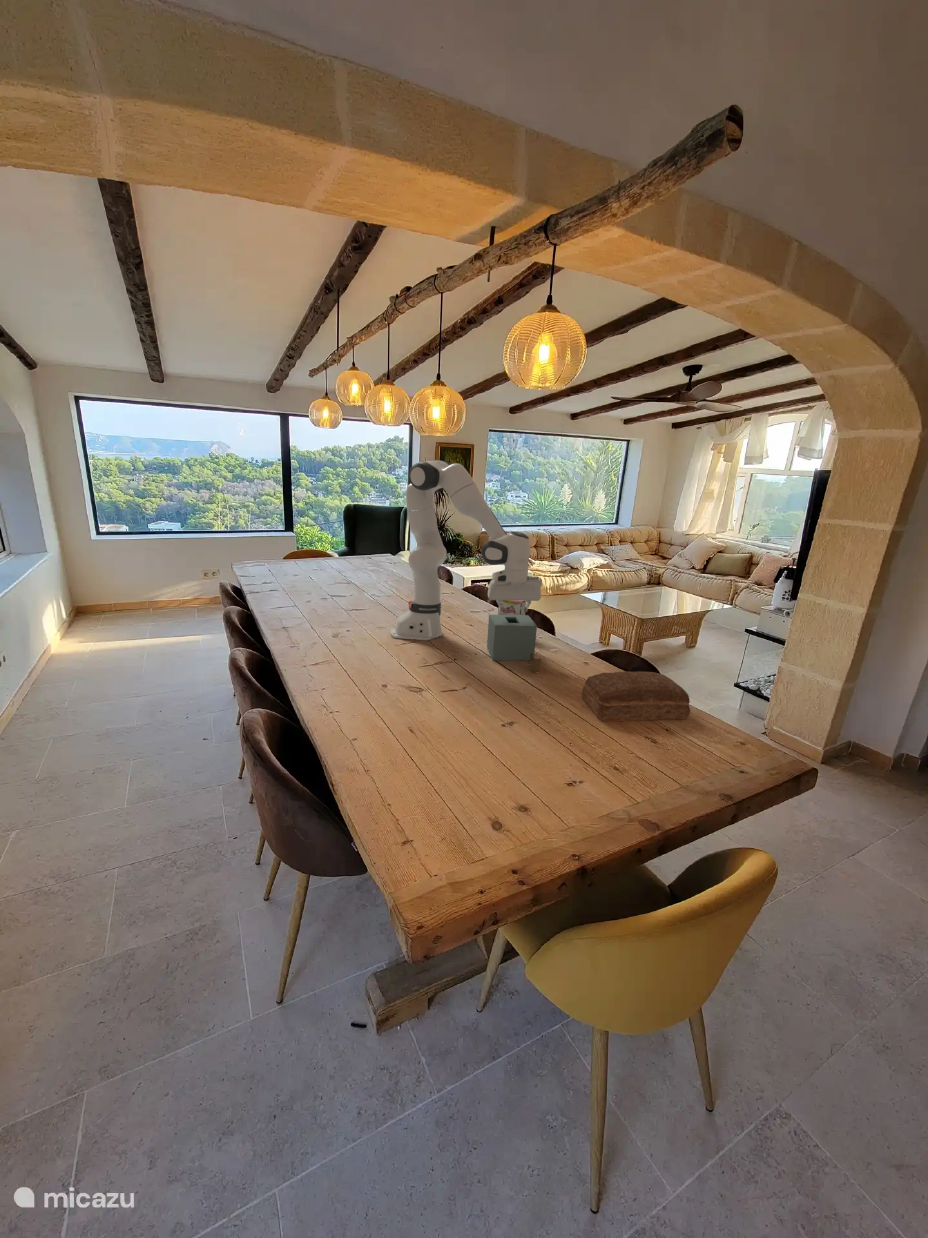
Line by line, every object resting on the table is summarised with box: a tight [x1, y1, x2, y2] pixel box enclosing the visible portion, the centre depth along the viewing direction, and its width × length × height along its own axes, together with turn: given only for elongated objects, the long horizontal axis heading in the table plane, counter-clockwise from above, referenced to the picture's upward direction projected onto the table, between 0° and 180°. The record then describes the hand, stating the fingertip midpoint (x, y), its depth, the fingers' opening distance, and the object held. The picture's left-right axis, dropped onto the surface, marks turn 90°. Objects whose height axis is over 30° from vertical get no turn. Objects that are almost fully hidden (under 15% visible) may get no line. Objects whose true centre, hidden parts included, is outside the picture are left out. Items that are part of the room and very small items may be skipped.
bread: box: [581, 671, 691, 722], centre depth 151 cm, size 17×29×11 cm, turn 97°
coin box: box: [486, 614, 538, 661], centre depth 192 cm, size 16×14×14 cm
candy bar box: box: [497, 600, 527, 615], centre depth 215 cm, size 11×5×16 cm, turn 58°
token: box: [529, 652, 542, 673], centre depth 178 cm, size 2×6×6 cm, turn 7°
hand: (512, 611), depth 189 cm, fingers open, 8 cm apart
